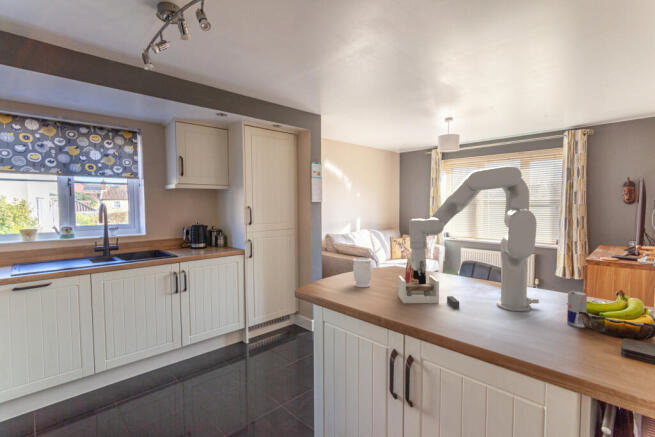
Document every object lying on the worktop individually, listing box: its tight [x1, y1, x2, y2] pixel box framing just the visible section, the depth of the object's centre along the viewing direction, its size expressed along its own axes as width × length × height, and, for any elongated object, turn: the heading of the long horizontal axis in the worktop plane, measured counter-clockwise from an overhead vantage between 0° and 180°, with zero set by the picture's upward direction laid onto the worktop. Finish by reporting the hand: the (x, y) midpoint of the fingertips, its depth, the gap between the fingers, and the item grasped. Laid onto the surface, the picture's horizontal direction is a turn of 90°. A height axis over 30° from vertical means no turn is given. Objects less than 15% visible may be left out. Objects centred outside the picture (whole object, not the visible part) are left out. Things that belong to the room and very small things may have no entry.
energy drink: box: [566, 290, 588, 329], centre depth 112 cm, size 5×5×12 cm
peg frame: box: [397, 275, 440, 304], centre depth 145 cm, size 16×11×10 cm
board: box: [406, 282, 433, 291], centre depth 145 cm, size 12×6×2 cm, turn 88°
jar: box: [352, 256, 373, 288], centre depth 171 cm, size 11×10×15 cm
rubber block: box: [446, 295, 460, 310], centre depth 136 cm, size 2×8×3 cm, turn 178°
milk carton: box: [404, 254, 421, 283], centre depth 164 cm, size 9×9×20 cm
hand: (419, 281), depth 145 cm, fingers open, 9 cm apart
